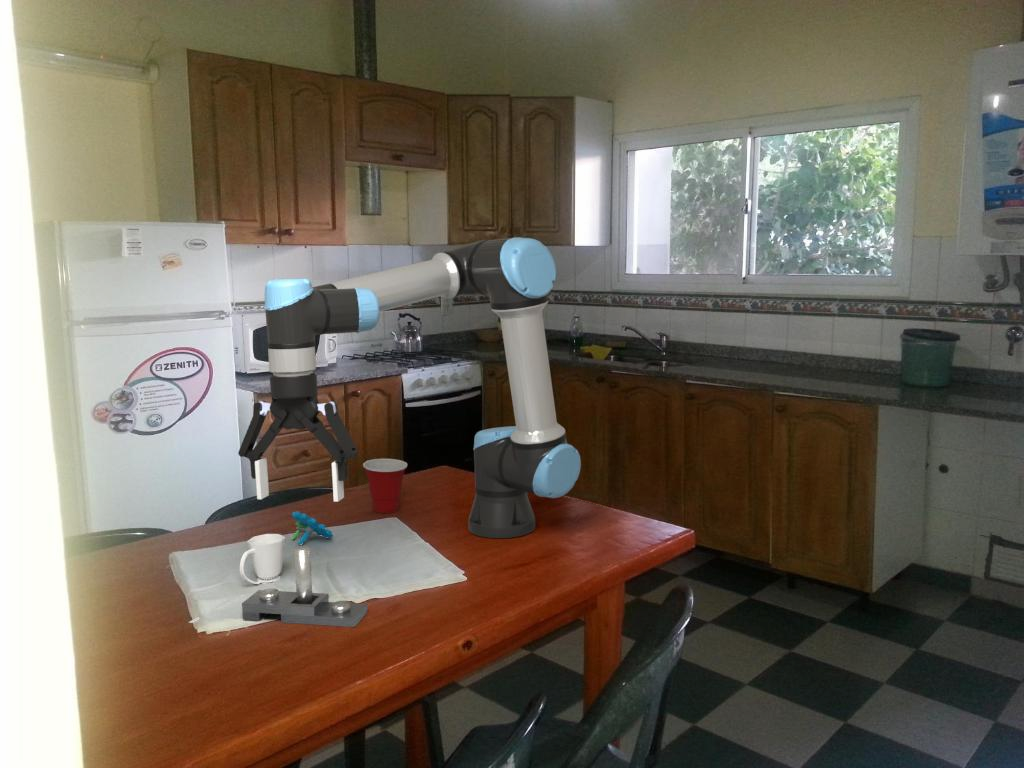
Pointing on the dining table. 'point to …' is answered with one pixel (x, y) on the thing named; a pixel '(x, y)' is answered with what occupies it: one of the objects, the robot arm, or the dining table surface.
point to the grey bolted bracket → (302, 609)
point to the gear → (308, 527)
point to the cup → (265, 557)
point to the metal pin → (303, 575)
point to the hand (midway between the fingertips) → (300, 498)
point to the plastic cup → (385, 483)
